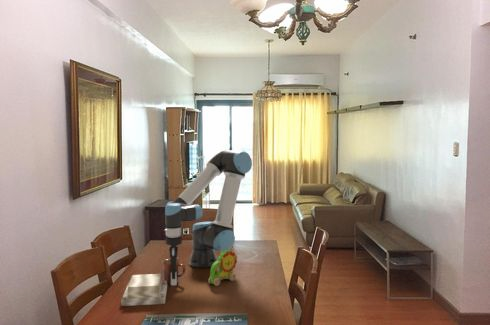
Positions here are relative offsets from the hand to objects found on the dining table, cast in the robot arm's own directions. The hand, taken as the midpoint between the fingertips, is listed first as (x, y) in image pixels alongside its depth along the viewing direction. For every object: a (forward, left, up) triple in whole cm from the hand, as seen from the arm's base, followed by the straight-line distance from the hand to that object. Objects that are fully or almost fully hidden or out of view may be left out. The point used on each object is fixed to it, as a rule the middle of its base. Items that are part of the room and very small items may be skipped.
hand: (174, 281), depth 204 cm
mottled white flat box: (+12, +16, 0) cm, 20 cm away
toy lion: (-24, +2, -1) cm, 24 cm away
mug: (0, +1, 0) cm, 1 cm away
